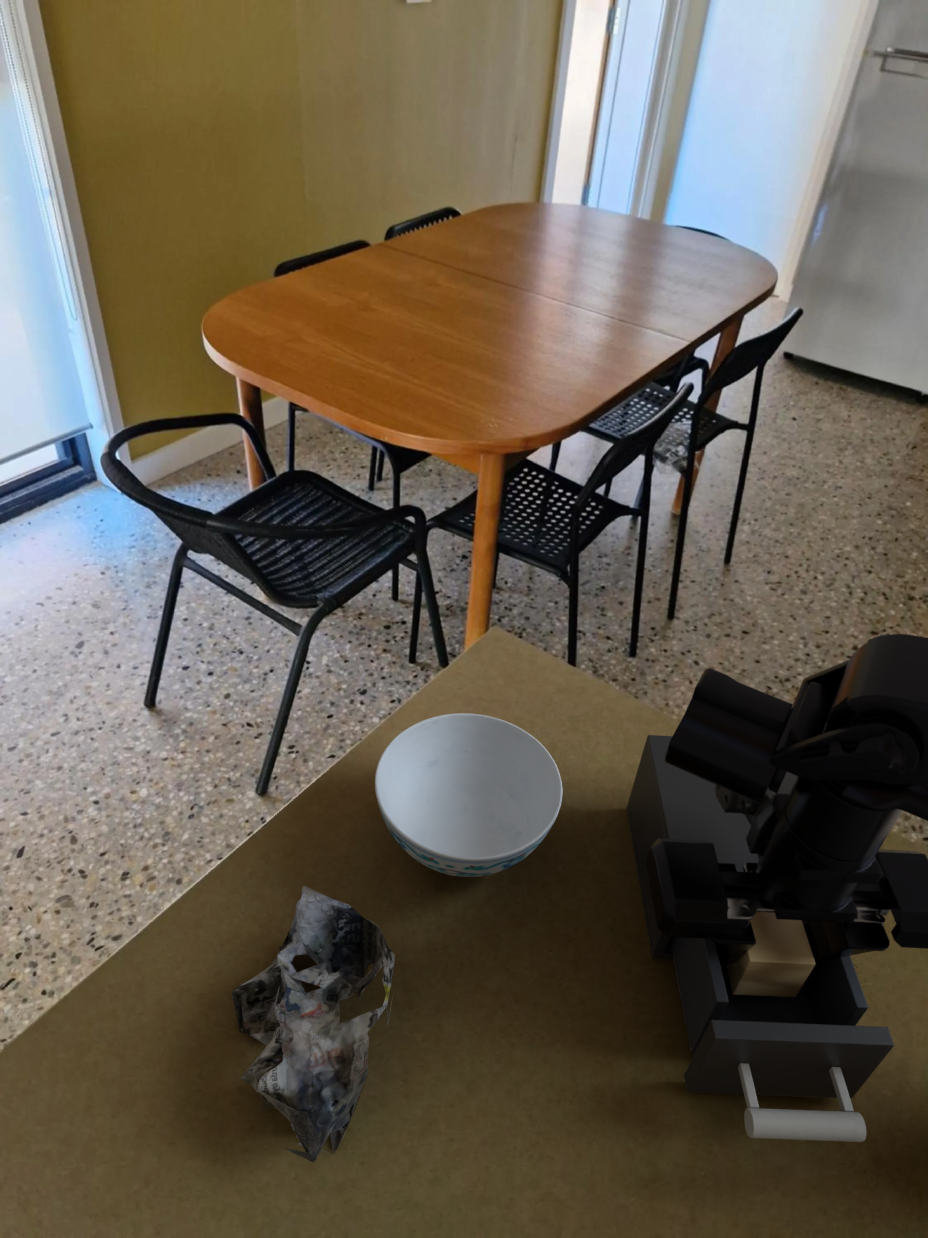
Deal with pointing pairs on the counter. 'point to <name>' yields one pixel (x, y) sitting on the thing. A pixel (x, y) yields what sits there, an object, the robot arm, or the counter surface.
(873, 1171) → the counter surface
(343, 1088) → the foil
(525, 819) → the chinaware
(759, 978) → the block
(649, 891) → the drawer cabinet
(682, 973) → the pulled-out drawer
